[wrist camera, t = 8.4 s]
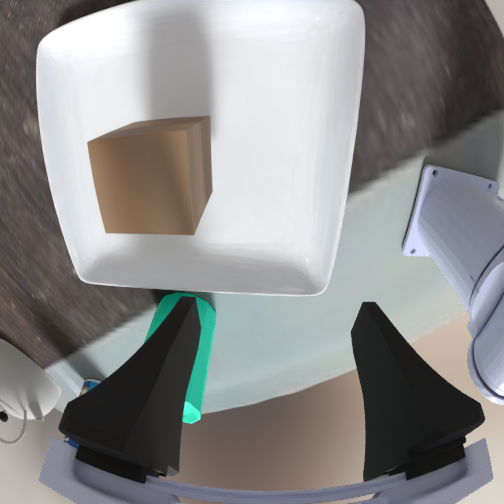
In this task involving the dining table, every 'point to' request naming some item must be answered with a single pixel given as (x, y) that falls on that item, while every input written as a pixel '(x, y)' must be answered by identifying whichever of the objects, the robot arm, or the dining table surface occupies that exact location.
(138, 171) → the walnut block
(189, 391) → the candle
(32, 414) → the kettle
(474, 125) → the dining table surface
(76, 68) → the salad plate
